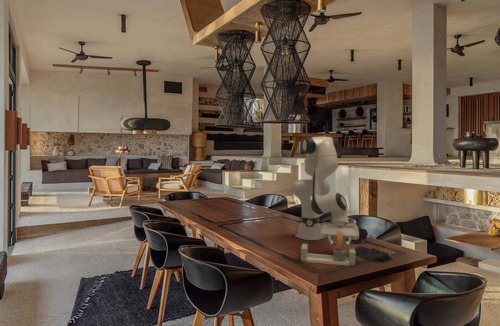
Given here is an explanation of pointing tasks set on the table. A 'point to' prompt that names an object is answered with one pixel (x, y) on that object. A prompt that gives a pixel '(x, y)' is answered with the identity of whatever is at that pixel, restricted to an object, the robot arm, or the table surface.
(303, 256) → the rail base
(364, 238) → the crystal cluster
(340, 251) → the carriage
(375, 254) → the dark flat rock slab
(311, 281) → the table surface
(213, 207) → the table surface
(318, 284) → the table surface
